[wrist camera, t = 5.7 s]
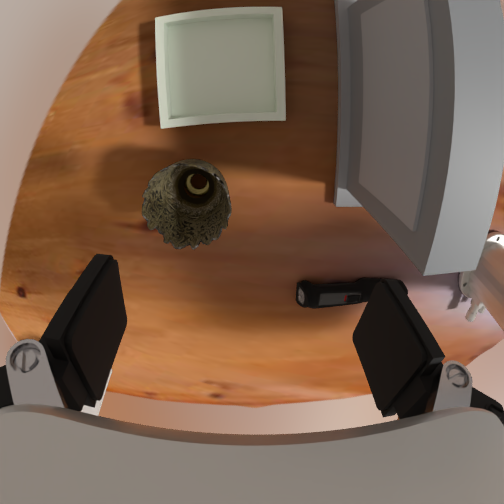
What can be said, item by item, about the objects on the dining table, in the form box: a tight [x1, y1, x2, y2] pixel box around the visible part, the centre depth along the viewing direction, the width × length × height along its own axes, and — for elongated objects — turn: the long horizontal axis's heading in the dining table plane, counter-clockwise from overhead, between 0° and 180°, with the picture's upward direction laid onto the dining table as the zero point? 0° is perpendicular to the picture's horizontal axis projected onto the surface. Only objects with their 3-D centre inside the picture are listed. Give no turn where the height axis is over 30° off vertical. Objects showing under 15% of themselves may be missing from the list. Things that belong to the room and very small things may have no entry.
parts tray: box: [155, 7, 286, 129], centre depth 22 cm, size 12×12×2 cm
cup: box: [142, 159, 232, 250], centre depth 26 cm, size 8×7×8 cm
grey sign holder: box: [334, 0, 504, 276], centre depth 17 cm, size 24×7×17 cm, turn 2°
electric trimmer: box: [296, 278, 408, 308], centre depth 36 cm, size 4×16×3 cm, turn 91°
